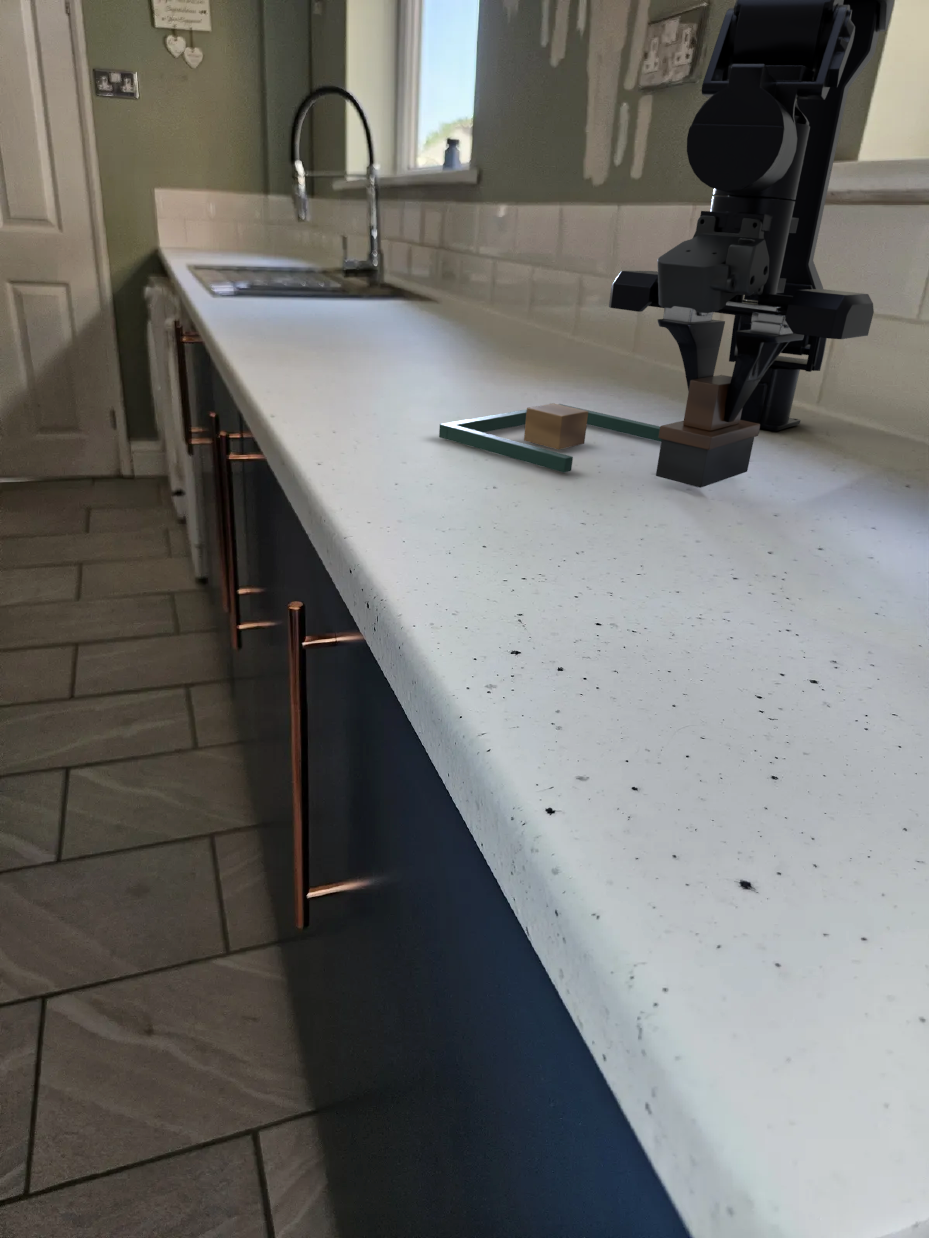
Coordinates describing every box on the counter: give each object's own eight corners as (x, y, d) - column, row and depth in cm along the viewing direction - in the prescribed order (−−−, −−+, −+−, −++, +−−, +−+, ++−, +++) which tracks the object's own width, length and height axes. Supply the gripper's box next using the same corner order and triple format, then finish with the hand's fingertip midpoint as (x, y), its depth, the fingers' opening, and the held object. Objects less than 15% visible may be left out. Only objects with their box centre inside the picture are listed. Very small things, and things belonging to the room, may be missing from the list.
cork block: (549, 435, 82) (553, 403, 81) (584, 444, 79) (588, 411, 78) (523, 440, 79) (526, 407, 78) (558, 450, 77) (562, 416, 75)
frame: (558, 415, 91) (559, 403, 90) (677, 443, 82) (679, 430, 82) (438, 437, 78) (439, 424, 78) (564, 473, 70) (565, 458, 69)
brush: (703, 460, 75) (719, 371, 72) (750, 472, 72) (769, 379, 69) (651, 475, 69) (667, 379, 66) (701, 489, 66) (720, 389, 63)
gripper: (580, 186, 62) (556, 407, 69) (840, 198, 51) (782, 459, 58) (661, 196, 70) (633, 393, 76) (902, 207, 59) (845, 437, 65)
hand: (712, 418), depth 69 cm, fingers closed on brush, 2 cm apart
